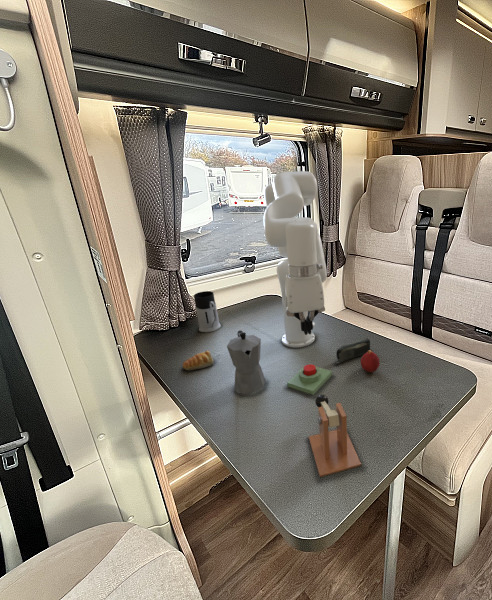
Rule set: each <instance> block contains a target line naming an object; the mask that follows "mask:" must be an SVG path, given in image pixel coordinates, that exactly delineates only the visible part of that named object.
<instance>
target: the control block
mask: <svg viewBox="0 0 492 600" xmlns="http://www.w3.org/2000/svg"><path fill="white" fill-rule="evenodd" d="M309 364H310V363H308V364H306V365H309ZM314 366H315V367H316V373H315V374H314V375H312V376H307V375H305V374H304V366H303V367H301V368H300V369H299V370H298V372H297V373H296V374H295V375H293V377H292V378H290V379H289V380H288V381H287V382H286V385H287V387H288V388H291V389H294V390H297V391H300V392H303V393H306V394H309V395H311V396H314V395H315V394H316V393H317V392H318V391H319V390H320V389H321V387H322V386H323V385H324V384H325V383H326V382H327V381H328V380H329V379H330V378H331V377H332V376H333V370H330V369H327V368H323V367H319V366H317V365H314Z"/></svg>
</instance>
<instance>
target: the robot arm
mask: <svg viewBox="0 0 492 600" xmlns="http://www.w3.org/2000/svg"><path fill="white" fill-rule="evenodd" d="M317 194H318V181H317V179H316V176H315V174H314V173H312V172H311V171H308V170H302V171H301V170H300V171H298V170H297V171H281V172H278V173H276V175H274V177H273V179H272V183H269V184H267V185H266V186H265V187H264V191H263V198H264V202H265V206H266V208H265V211H264V214H263V229H264V235H265V236H264V237H265V240H266V242H267V243H268V245H269V246H270V247H274V248H277V250H278V253H279V255H280V256H281V257H282V258H285V259H284V260H281V261H279V262H278V264H277V266H276V274H277V280H278V283H279V284H278V285H279V288H280V293H281V294H280V295H281V302H282V303H281V304H282V313H283V323H284V334H283V335H282V336H281V343H282V344H283V345H284V346H286V347H288V348H294V349H295V348H296V349H297V348H304V347H307V346H309V345H311V344H313V342H315V340H316V336H315V334H314V333H313V332H312V331H313V329H314V328H315V327H316V323H315V321H314V320H315V318H316V317H317V315H318V314H320V313H324V312H325V311H326V307H325V293H324V287H323V283H324V282H325V281H326V280H327V277H328V271H327V264H326V259H325V254H324V249H323V247H324V246H323V242H322V238H321V236H320V234H319V230H318V224H317V223H316V221H314V219H313V218H311V217H297V216H298V215H299V214H301V212H302V211H303V209H304V207H307V206H311V204H313V201H314V200H315V199H316V197H317Z"/></svg>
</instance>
